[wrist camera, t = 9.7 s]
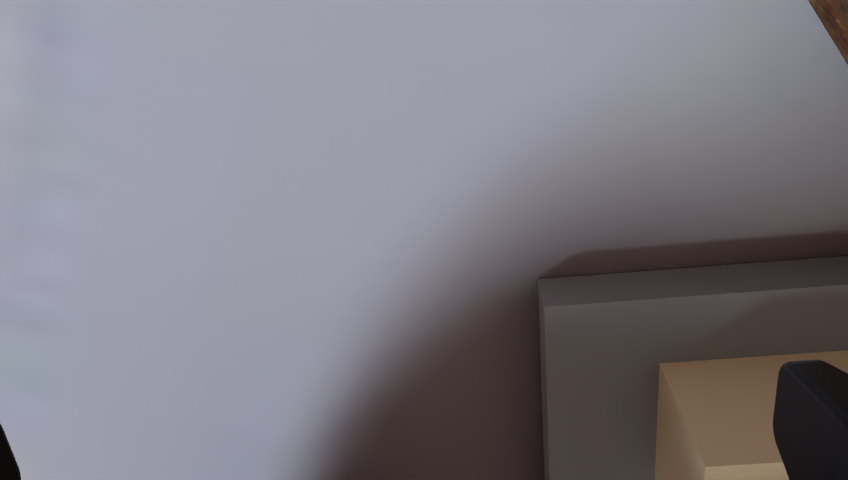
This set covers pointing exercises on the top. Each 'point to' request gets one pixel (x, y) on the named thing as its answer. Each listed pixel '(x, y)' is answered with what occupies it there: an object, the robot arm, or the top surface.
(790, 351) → the foundation
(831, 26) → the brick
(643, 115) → the top surface
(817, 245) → the top surface
